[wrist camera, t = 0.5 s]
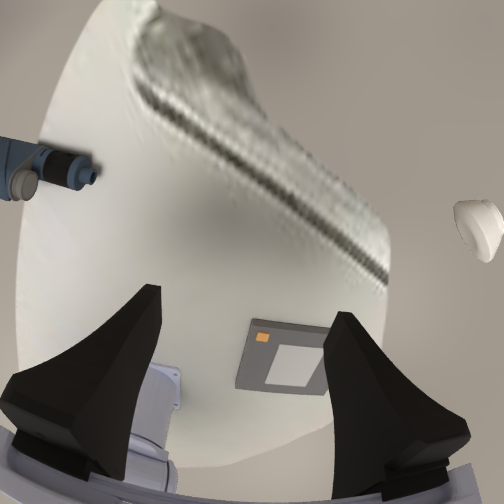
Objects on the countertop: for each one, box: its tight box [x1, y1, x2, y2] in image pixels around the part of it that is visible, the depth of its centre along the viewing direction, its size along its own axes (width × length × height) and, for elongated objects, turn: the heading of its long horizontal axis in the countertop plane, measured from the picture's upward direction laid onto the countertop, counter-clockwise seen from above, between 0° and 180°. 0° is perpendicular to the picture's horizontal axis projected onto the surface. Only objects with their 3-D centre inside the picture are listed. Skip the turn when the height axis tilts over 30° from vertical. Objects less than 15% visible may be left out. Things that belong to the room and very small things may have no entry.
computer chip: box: [235, 319, 330, 396], centre depth 28 cm, size 10×10×1 cm
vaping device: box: [0, 136, 97, 201], centre depth 16 cm, size 3×5×12 cm
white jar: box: [454, 199, 504, 263], centre depth 18 cm, size 5×3×5 cm, turn 38°
